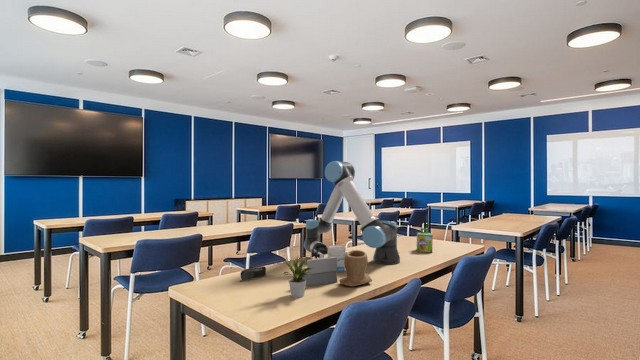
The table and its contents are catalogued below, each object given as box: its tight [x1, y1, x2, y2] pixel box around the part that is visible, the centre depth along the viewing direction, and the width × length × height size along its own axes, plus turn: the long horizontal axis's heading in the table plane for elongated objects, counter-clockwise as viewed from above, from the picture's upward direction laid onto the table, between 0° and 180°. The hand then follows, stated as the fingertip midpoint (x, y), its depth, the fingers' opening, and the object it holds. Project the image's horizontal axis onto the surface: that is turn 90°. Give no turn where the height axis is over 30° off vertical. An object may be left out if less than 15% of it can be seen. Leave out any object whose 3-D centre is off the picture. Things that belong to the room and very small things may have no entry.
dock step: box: [301, 257, 338, 287], centre depth 162 cm, size 14×16×11 cm
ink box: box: [327, 245, 346, 273], centre depth 180 cm, size 8×8×12 cm
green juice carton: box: [416, 227, 434, 254], centre depth 225 cm, size 9×9×15 cm
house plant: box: [282, 254, 315, 299], centre depth 138 cm, size 14×14×16 cm
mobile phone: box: [239, 266, 267, 282], centre depth 164 cm, size 5×3×15 cm
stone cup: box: [338, 249, 373, 287], centre depth 154 cm, size 15×12×15 cm
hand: (335, 256), depth 180 cm, fingers open, 13 cm apart
